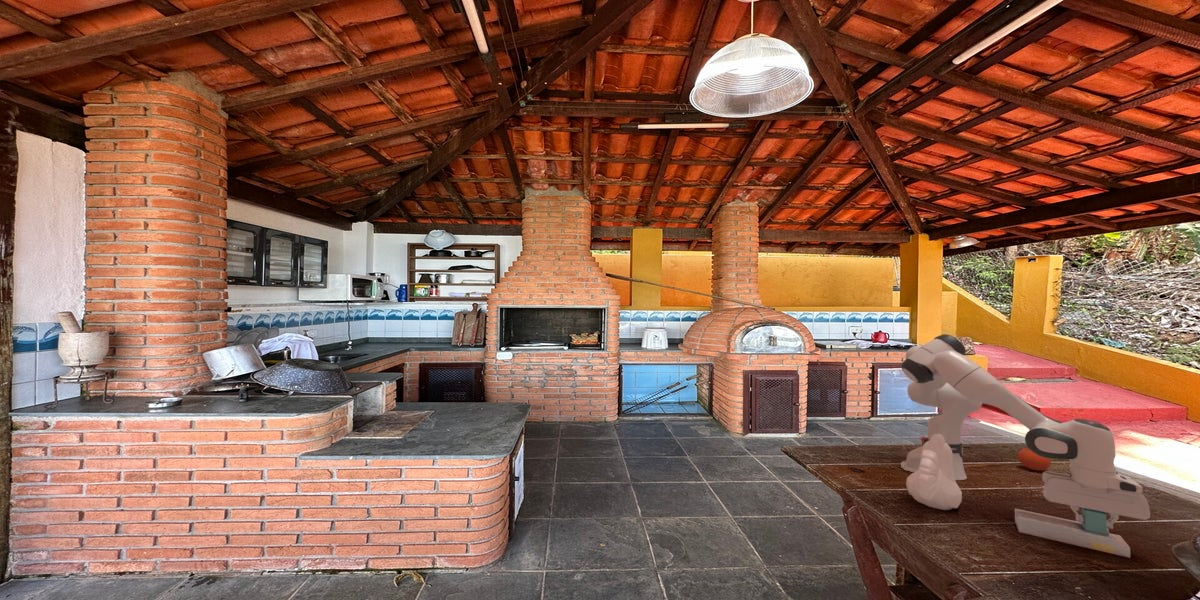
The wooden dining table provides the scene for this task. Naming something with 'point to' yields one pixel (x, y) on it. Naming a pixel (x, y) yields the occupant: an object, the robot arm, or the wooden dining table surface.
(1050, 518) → the white long bar
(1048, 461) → the tomato
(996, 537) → the wooden dining table surface
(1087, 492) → the robot arm
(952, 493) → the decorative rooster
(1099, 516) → the block
